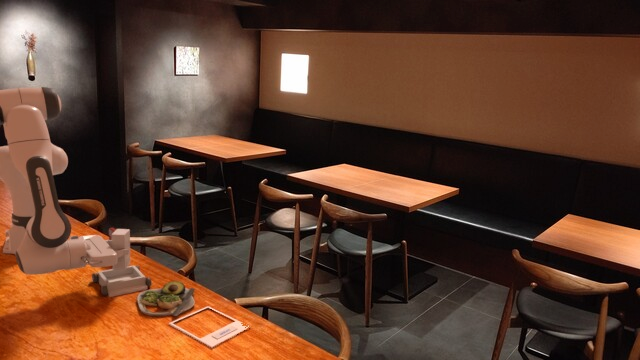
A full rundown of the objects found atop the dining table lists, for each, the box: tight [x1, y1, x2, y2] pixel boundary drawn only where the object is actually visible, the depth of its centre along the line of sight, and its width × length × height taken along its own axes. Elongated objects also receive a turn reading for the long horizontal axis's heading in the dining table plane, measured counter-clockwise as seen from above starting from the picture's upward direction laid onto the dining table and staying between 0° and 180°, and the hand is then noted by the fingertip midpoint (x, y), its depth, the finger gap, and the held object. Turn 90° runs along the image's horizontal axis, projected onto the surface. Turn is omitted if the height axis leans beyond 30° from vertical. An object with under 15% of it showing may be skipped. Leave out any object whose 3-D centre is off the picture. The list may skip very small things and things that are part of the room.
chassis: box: [91, 264, 152, 298], centre depth 166 cm, size 15×15×4 cm
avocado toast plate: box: [136, 280, 196, 317], centre depth 155 cm, size 19×18×5 cm
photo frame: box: [168, 305, 250, 349], centre depth 145 cm, size 15×1×18 cm
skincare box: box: [111, 228, 131, 270], centre depth 164 cm, size 6×4×12 cm
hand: (123, 246), depth 164 cm, fingers closed on skincare box, 7 cm apart
